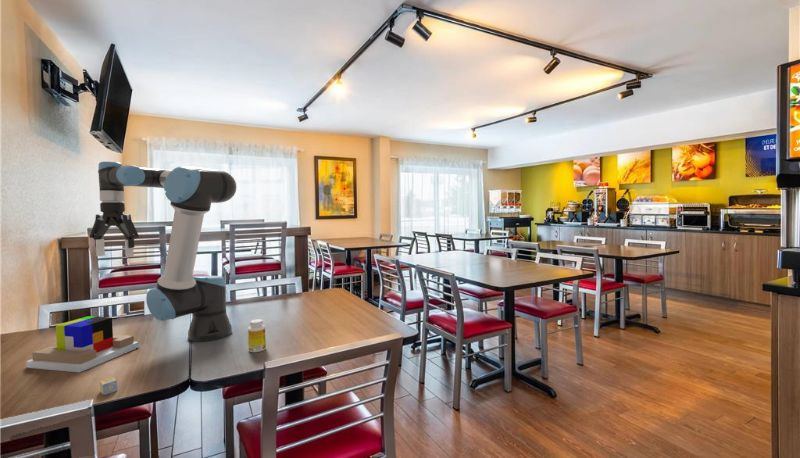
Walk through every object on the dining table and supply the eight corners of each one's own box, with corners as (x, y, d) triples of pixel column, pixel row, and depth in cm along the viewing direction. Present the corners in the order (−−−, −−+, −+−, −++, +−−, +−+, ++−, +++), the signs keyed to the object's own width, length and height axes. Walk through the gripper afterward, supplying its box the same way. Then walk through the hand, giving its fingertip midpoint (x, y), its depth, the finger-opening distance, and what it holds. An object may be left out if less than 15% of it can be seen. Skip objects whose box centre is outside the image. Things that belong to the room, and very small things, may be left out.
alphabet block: (102, 395, 95) (102, 384, 94) (100, 392, 97) (99, 380, 96) (117, 391, 97) (116, 380, 97) (114, 387, 99) (114, 376, 99)
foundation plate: (138, 347, 128) (138, 335, 128) (79, 372, 108) (78, 357, 108) (92, 344, 132) (91, 331, 131) (26, 367, 112) (25, 353, 112)
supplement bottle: (266, 351, 124) (265, 321, 123) (249, 354, 121) (248, 324, 121) (265, 345, 129) (264, 317, 128) (248, 348, 126) (247, 319, 126)
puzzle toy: (82, 358, 114) (81, 326, 114) (57, 355, 116) (55, 325, 115) (113, 346, 124) (112, 317, 123) (89, 344, 126) (88, 316, 125)
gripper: (148, 201, 142) (150, 255, 143) (95, 202, 147) (98, 254, 148) (130, 201, 135) (133, 257, 136) (76, 202, 140) (79, 256, 141)
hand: (115, 256), depth 142 cm, fingers open, 13 cm apart
